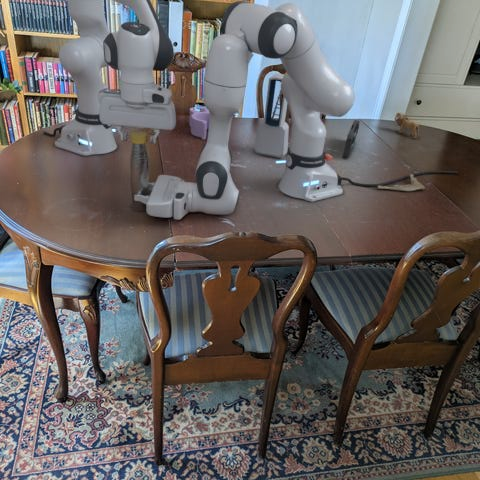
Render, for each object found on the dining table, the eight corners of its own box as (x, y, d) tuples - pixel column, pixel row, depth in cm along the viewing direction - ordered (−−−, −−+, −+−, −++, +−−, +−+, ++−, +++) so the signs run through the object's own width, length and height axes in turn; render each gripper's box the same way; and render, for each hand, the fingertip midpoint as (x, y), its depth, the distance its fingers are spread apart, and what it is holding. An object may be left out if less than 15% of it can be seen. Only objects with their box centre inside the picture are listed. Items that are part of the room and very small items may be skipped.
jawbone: (429, 189, 172) (431, 184, 171) (394, 201, 161) (396, 196, 160) (410, 177, 177) (412, 172, 176) (375, 189, 167) (376, 184, 165)
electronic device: (287, 153, 187) (299, 77, 171) (282, 160, 181) (294, 81, 165) (257, 147, 190) (266, 71, 174) (252, 153, 184) (260, 75, 167)
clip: (182, 123, 206) (183, 107, 202) (209, 122, 210) (210, 106, 207) (197, 140, 191) (197, 123, 187) (225, 138, 195) (226, 122, 191)
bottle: (148, 202, 143) (146, 132, 131) (149, 210, 139) (148, 139, 127) (131, 203, 142) (128, 132, 130) (132, 211, 138) (130, 139, 126)
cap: (130, 143, 127) (129, 136, 126) (130, 137, 131) (130, 130, 130) (147, 144, 128) (147, 137, 127) (147, 138, 132) (146, 131, 131)
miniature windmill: (286, 130, 210) (297, 60, 194) (268, 127, 211) (277, 58, 195) (288, 124, 218) (299, 56, 202) (271, 121, 219) (279, 54, 203)
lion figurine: (389, 131, 223) (394, 112, 218) (394, 128, 227) (399, 110, 222) (418, 140, 216) (424, 121, 211) (422, 137, 219) (428, 119, 214)
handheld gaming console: (349, 160, 187) (354, 136, 182) (342, 158, 188) (347, 134, 183) (355, 142, 206) (361, 119, 201) (349, 140, 207) (354, 118, 201)
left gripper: (94, 90, 119) (98, 142, 126) (174, 98, 120) (173, 149, 127) (100, 84, 124) (104, 134, 132) (177, 91, 125) (176, 140, 133)
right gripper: (188, 172, 145) (144, 167, 145) (178, 203, 128) (128, 198, 128) (188, 190, 149) (144, 185, 148) (178, 222, 131) (129, 218, 131)
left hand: (138, 141), depth 130 cm, fingers open, 7 cm apart
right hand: (137, 191), depth 138 cm, fingers closed on bottle, 5 cm apart
